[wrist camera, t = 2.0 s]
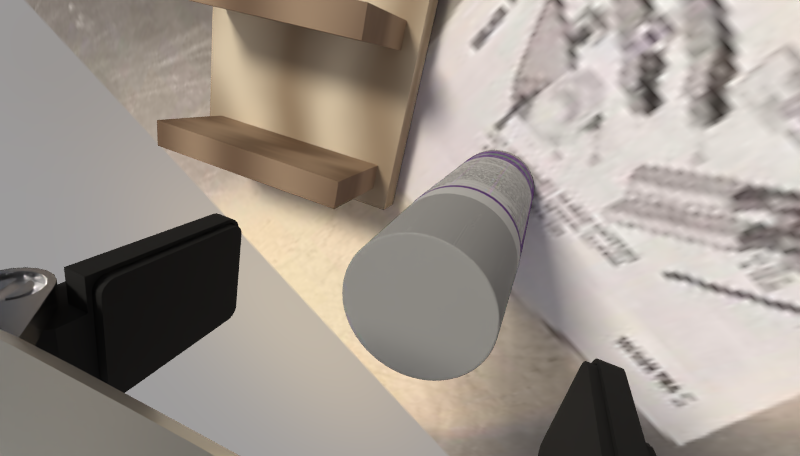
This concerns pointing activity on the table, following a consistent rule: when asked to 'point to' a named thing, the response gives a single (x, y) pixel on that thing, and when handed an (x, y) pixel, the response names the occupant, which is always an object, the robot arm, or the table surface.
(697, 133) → the table surface
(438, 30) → the table surface
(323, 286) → the table surface
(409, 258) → the container
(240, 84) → the slot rack
